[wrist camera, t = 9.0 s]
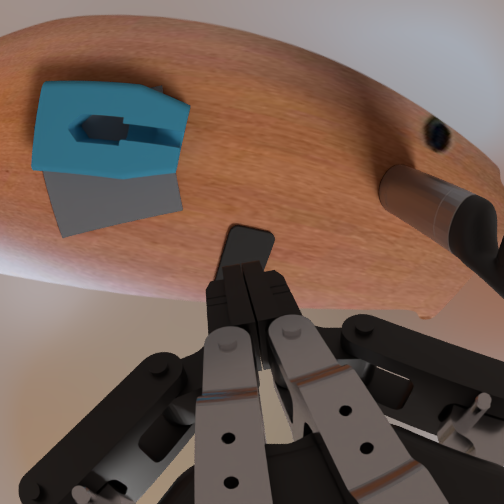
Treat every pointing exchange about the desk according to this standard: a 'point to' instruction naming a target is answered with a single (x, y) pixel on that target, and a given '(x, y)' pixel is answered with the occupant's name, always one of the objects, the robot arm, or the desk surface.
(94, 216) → the mat
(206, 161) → the desk surface
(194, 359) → the robot arm
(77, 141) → the block
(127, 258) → the desk surface
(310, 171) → the desk surface
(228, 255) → the phone
